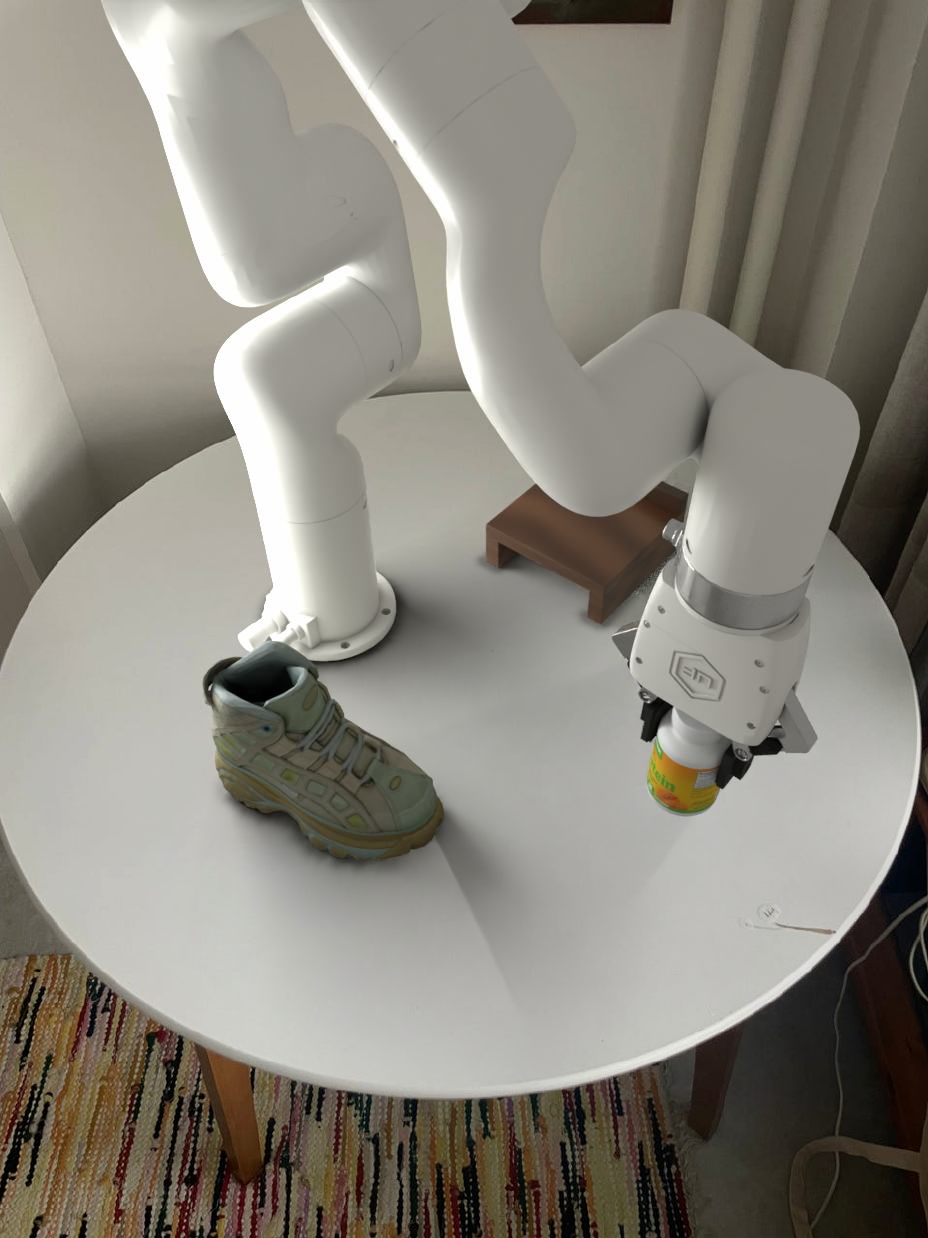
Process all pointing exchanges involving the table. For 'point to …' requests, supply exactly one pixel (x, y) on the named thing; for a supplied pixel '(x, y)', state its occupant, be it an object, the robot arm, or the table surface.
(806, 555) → the robot arm
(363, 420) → the table surface
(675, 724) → the supplement bottle
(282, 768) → the sneaker
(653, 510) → the shelf
